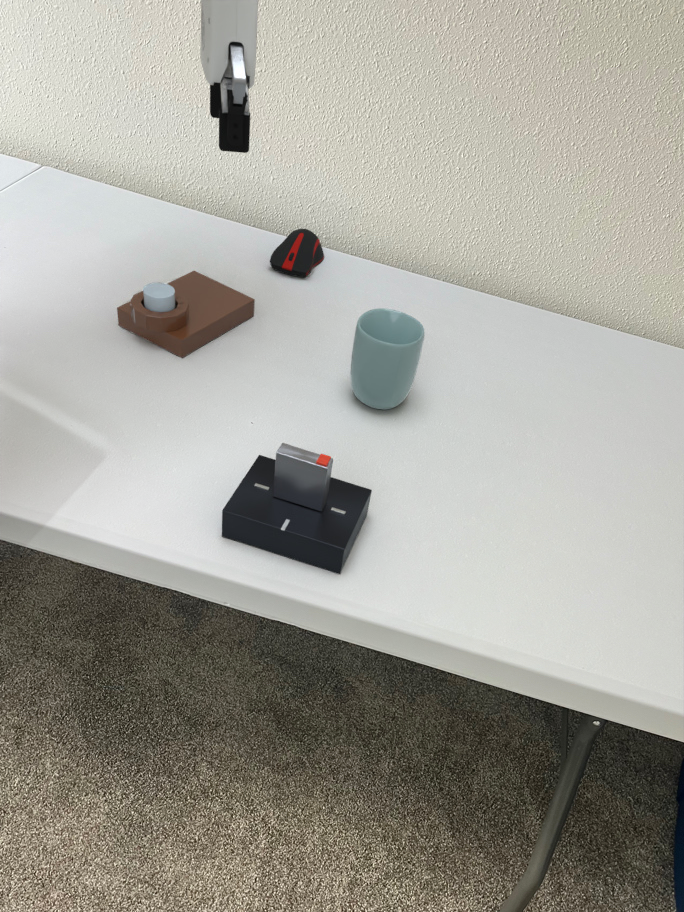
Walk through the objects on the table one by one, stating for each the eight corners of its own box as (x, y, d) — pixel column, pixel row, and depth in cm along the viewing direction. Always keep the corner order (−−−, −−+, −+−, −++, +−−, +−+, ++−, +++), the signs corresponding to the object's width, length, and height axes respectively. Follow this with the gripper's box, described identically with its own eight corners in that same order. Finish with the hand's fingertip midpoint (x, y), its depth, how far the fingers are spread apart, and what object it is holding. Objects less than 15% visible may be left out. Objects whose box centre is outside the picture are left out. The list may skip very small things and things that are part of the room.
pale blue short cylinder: (161, 316, 92) (160, 301, 90) (137, 305, 93) (136, 289, 91) (181, 306, 94) (181, 290, 93) (158, 294, 95) (157, 279, 94)
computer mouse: (264, 271, 112) (266, 244, 109) (289, 241, 120) (291, 215, 117) (306, 282, 112) (309, 256, 109) (328, 252, 120) (331, 227, 117)
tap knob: (272, 496, 75) (276, 450, 71) (278, 486, 76) (282, 440, 72) (321, 512, 74) (328, 466, 70) (327, 501, 76) (333, 456, 72)
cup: (419, 395, 97) (435, 324, 90) (392, 426, 92) (408, 353, 85) (364, 372, 99) (376, 300, 92) (334, 401, 93) (345, 327, 86)
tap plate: (221, 537, 75) (221, 509, 72) (258, 479, 81) (259, 452, 79) (339, 575, 74) (344, 548, 71) (367, 514, 81) (372, 487, 78)
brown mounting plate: (174, 362, 93) (173, 329, 90) (110, 329, 95) (107, 295, 92) (254, 316, 103) (255, 284, 100) (194, 287, 106) (193, 255, 103)
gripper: (185, -76, 81) (188, 103, 93) (200, -35, 70) (201, 162, 82) (258, -63, 84) (252, 109, 96) (283, -22, 72) (273, 167, 84)
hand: (228, 133), depth 89 cm, fingers open, 9 cm apart
